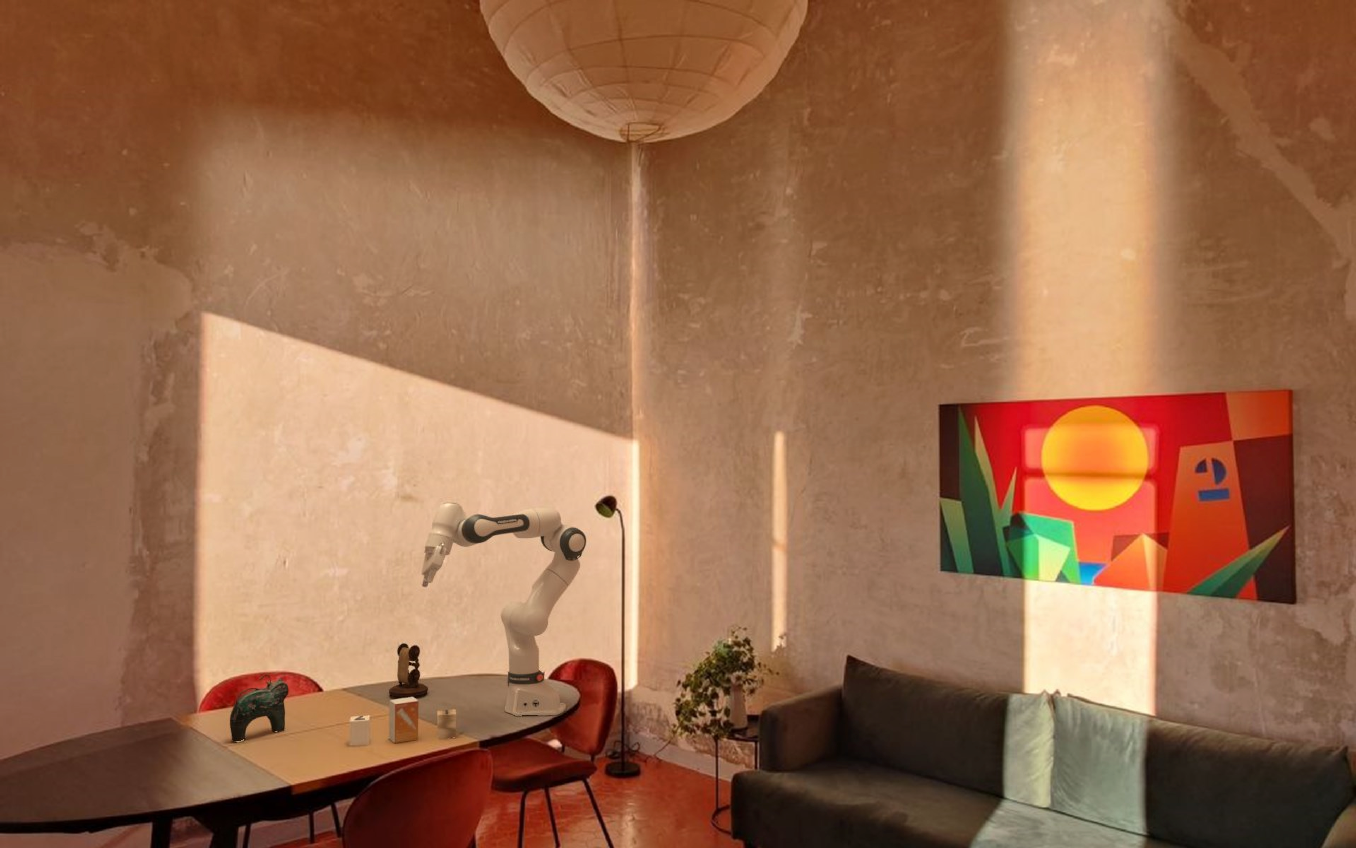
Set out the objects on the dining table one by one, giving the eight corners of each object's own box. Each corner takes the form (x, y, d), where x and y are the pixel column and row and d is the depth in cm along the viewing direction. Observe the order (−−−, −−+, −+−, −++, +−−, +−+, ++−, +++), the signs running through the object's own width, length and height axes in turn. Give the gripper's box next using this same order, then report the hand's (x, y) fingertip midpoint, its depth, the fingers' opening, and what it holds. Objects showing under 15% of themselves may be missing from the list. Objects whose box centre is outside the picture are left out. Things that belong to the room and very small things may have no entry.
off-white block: (369, 739, 321) (369, 714, 322) (368, 744, 316) (369, 719, 316) (350, 741, 320) (350, 715, 320) (349, 746, 314) (349, 720, 314)
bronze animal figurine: (281, 727, 336) (282, 669, 336) (292, 730, 332) (292, 672, 333) (226, 741, 320) (227, 681, 320) (237, 745, 316) (238, 683, 316)
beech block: (455, 733, 328) (455, 708, 329) (456, 738, 323) (456, 713, 323) (437, 734, 327) (437, 710, 327) (437, 739, 321) (437, 714, 321)
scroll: (381, 696, 377) (381, 645, 378) (411, 688, 389) (411, 639, 390) (405, 702, 369) (406, 649, 369) (435, 694, 381) (436, 643, 382)
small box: (394, 744, 316) (394, 704, 317) (388, 739, 322) (388, 699, 322) (418, 739, 321) (418, 700, 321) (412, 735, 326) (412, 696, 326)
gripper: (453, 543, 329) (441, 582, 323) (441, 554, 347) (430, 591, 341) (435, 537, 327) (423, 577, 322) (424, 549, 345) (412, 586, 339)
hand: (426, 584), depth 331 cm, fingers open, 8 cm apart
